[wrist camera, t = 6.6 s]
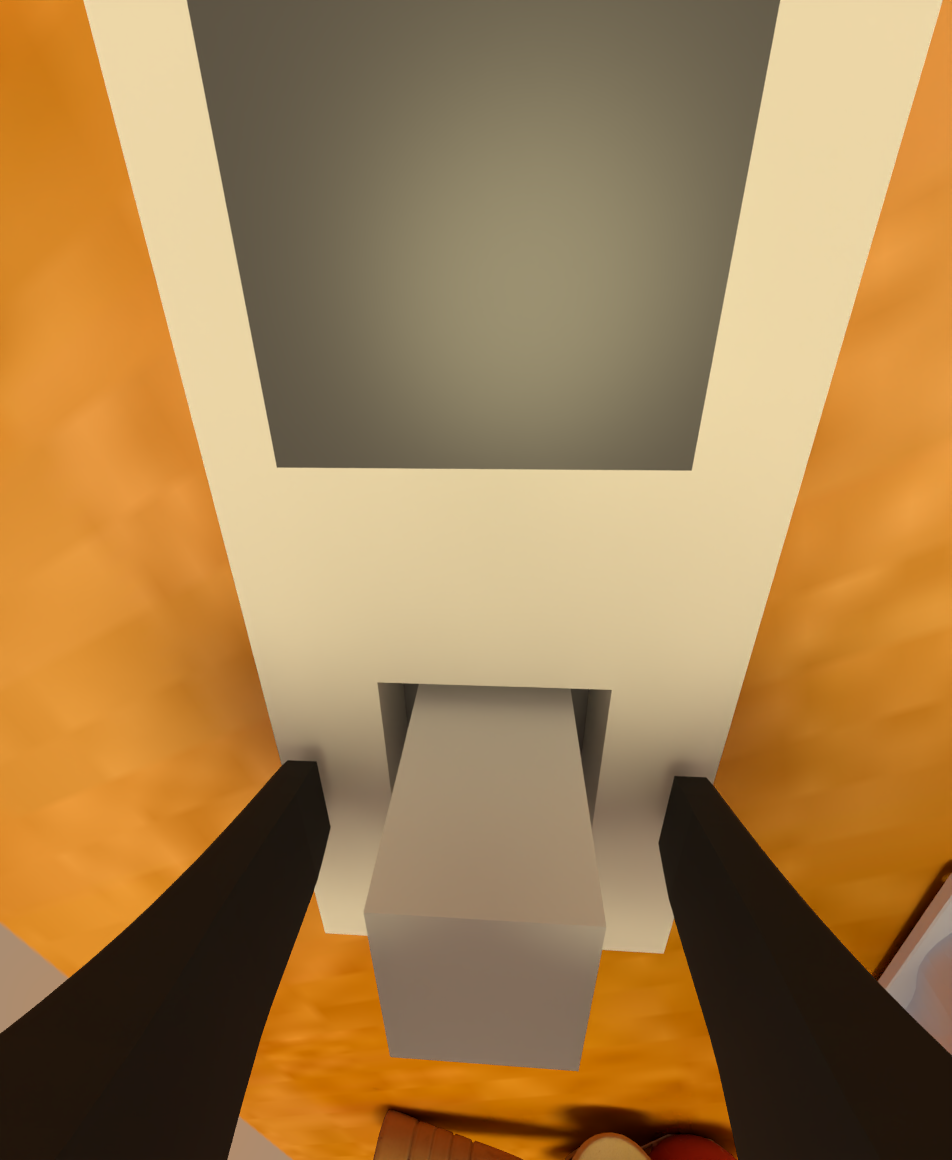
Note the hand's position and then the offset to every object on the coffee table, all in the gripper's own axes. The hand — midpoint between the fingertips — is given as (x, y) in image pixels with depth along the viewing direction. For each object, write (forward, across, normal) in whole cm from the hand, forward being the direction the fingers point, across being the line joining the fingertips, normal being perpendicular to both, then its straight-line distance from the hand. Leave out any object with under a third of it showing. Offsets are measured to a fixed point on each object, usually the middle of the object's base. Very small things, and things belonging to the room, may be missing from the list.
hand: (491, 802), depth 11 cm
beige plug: (+2, 0, 0) cm, 2 cm away
